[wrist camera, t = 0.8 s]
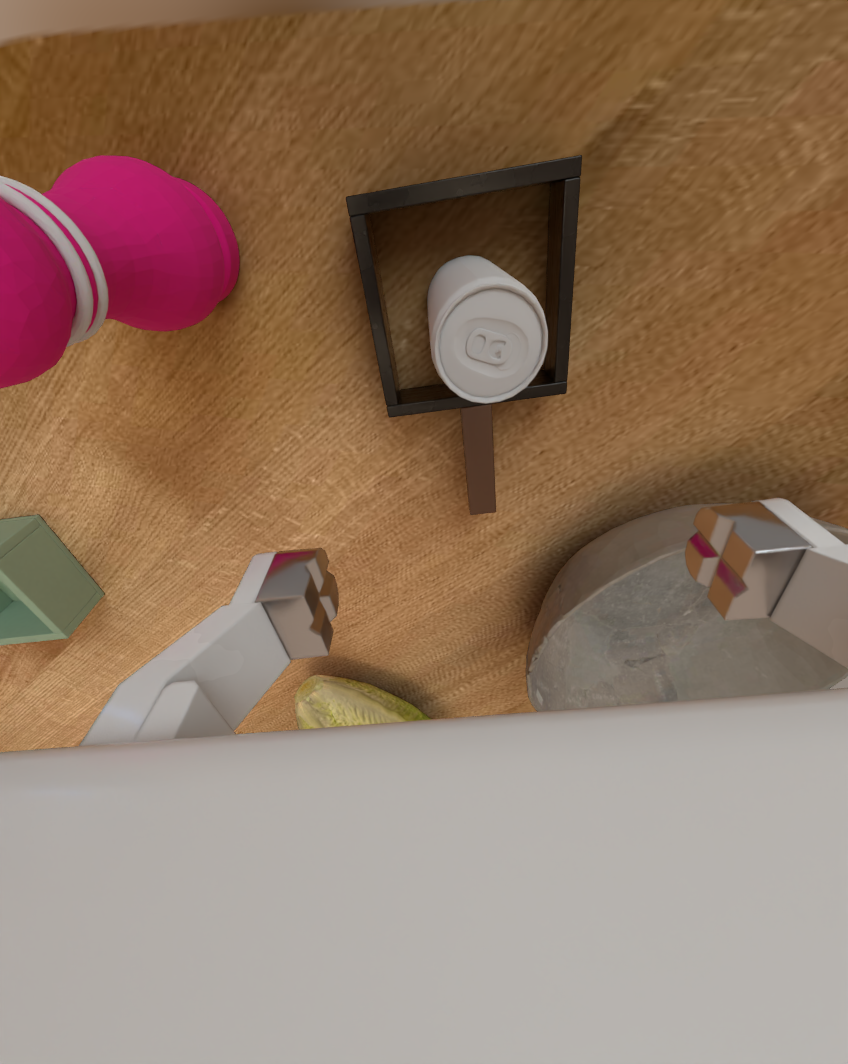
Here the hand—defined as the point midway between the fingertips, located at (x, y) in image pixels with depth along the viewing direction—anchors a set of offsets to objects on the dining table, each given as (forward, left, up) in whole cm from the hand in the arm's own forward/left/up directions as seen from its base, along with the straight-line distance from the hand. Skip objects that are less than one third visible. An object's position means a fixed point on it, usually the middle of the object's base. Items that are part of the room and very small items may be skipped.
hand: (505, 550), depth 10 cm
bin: (+14, -41, -23) cm, 49 cm away
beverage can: (-2, +1, -23) cm, 23 cm away
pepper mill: (-7, -15, -23) cm, 28 cm away
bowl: (+25, +17, -23) cm, 38 cm away
